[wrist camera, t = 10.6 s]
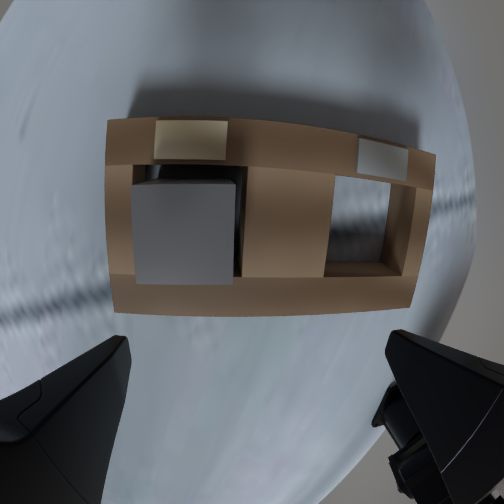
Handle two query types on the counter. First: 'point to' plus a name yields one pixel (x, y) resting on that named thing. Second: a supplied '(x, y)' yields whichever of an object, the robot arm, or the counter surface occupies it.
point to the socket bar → (272, 216)
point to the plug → (183, 231)
